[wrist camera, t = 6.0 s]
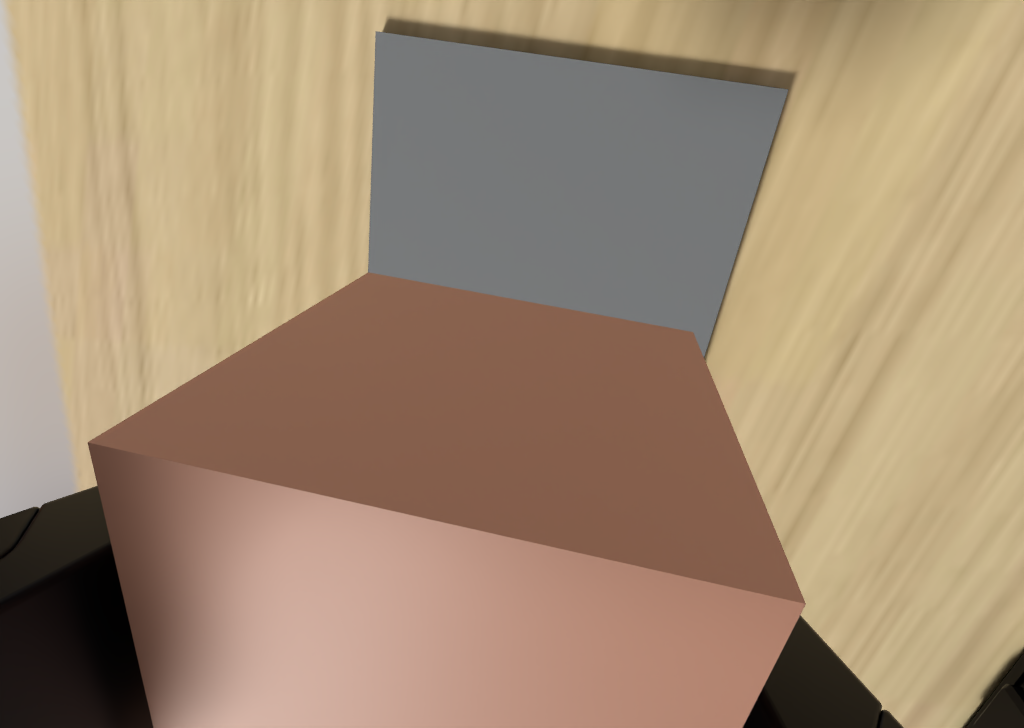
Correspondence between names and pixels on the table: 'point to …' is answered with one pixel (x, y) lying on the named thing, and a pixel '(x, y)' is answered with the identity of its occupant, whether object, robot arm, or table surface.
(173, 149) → the table surface
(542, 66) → the mat
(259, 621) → the cube
